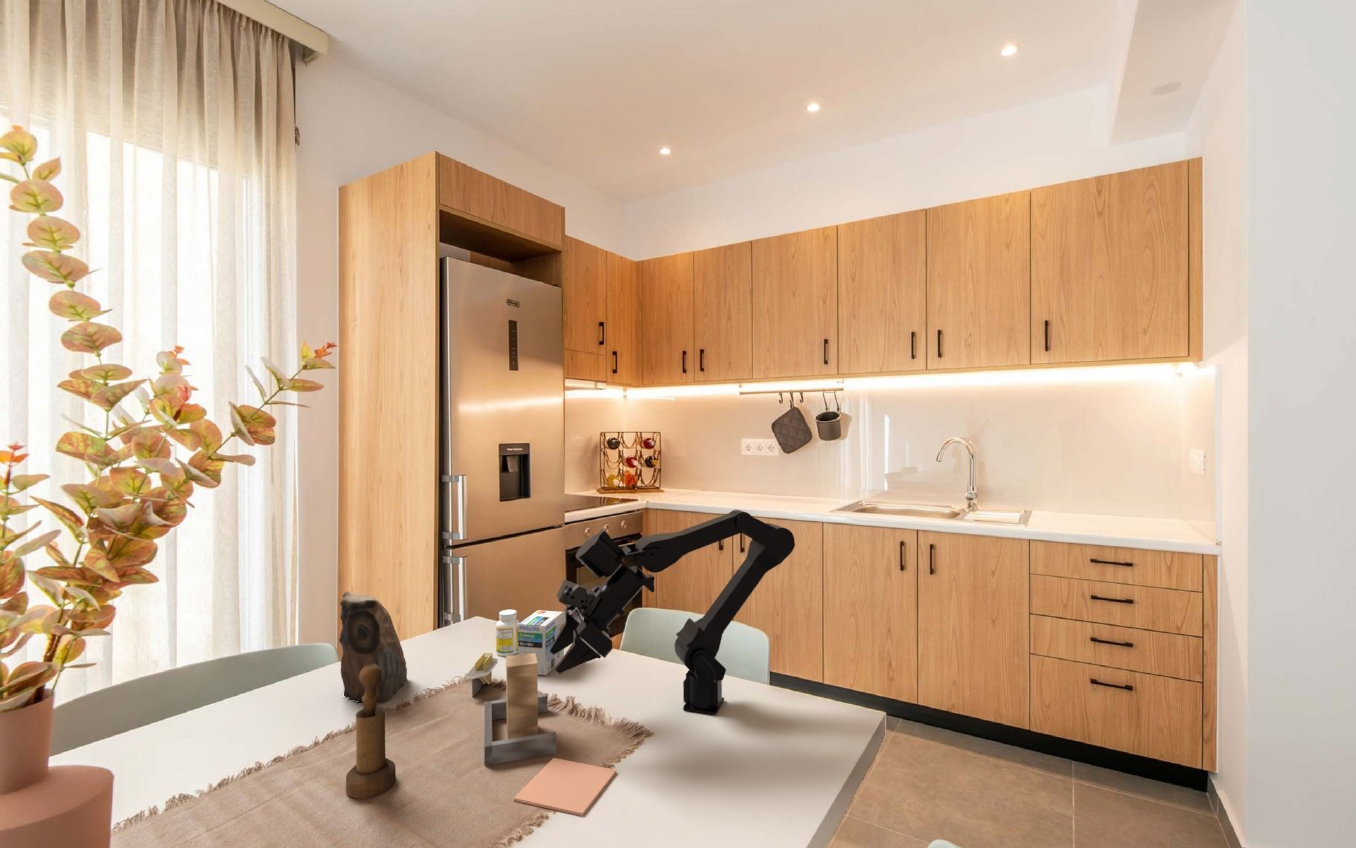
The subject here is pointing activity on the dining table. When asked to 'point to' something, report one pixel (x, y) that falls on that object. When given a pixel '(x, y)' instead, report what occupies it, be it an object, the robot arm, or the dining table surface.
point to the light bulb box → (541, 638)
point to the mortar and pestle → (370, 743)
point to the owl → (369, 647)
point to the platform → (482, 672)
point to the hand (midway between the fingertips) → (554, 662)
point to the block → (522, 695)
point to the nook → (516, 746)
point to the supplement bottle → (507, 633)
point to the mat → (566, 786)
